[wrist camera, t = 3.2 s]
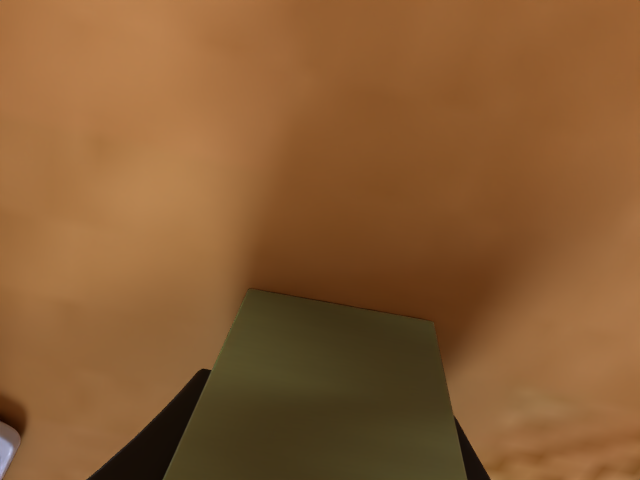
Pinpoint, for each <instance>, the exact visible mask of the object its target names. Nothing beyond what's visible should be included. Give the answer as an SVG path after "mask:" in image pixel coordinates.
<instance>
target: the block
mask: <svg viewBox="0 0 640 480" xmlns="http://www.w3.org/2000/svg"><path fill="white" fill-rule="evenodd" d="M163 480H467V476H466V471H465V467H464V462H463V457H462V453H461V448H460V443H459V439H458V434H457V429H456V425H455V420H454V415H453V411H452V406H451V401H450V397H449V392H448V387H447V383H446V378H445V373H444V369H443V364H442V359H441V355H440V350H439V345H438V341H437V336H436V331H435V327H434V323H433V322H432V321H427V320H422V319H416V318H411V317H405V316H400V315H394V314H389V313H383V312H378V311H372V310H366V309H361V308H355V307H350V306H344V305H339V304H333V303H328V302H322V301H317V300H311V299H306V298H300V297H294V296H289V295H283V294H278V293H272V292H267V291H261V290H256V289H248V291H247V293H246V295H245V297H244V299H243V302H242V304H241V306H240V308H239V311H238V313H237V315H236V317H235V320H234V322H233V324H232V326H231V328H230V331H229V333H228V335H227V337H226V340H225V342H224V344H223V346H222V349H221V351H220V353H219V355H218V357H217V360H216V362H215V364H214V366H213V369H212V371H211V373H210V375H209V378H208V380H207V382H206V384H205V386H204V389H203V391H202V393H201V395H200V398H199V400H198V402H197V404H196V407H195V409H194V411H193V413H192V415H191V418H190V420H189V422H188V424H187V427H186V429H185V431H184V433H183V436H182V438H181V440H180V442H179V444H178V447H177V449H176V451H175V453H174V456H173V458H172V460H171V462H170V465H169V467H168V469H167V471H166V473H165V476H164V478H163Z"/></svg>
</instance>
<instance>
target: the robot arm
mask: <svg viewBox="0 0 640 480" xmlns="http://www.w3.org/2000/svg"><path fill="white" fill-rule="evenodd" d="M211 371H212V370H208V369H201V370H199V371H198V372H197V373H196V374H195V375H194V376H193V378H192V379H191V380H190V381H189V382H188V383H187V384H186V386H185V387H184V388H183V389H182V390H181V391H180V392H179V393H178V394H177V396H176V397H175V398H174V399H173V400H172V401H171V402H170V403H169V404H168V405H167V406H166V407H165V408H164V409H163V410H162V411H161V412H160V413H159V414H158V415H157V416H156V417H155V418H154V419H153V420H152V421H151V422H150V423H149V424H148V425H147V426H146V427H145V428H144V429H143V430H142V431H141V432H140V433H139V434H138V435H137V436H136V437H135V438H134V439H132V440H131V441H130V442H129V443H128V444H127V445H126V446H125V447H124V448H122V449H121V450H120V451H119V452H118V453H117V454H116V455H115V456H113V457H112V458H111V459H110V460H109V461H108V462H107V463H105V464H104V465H103V466H102V467H101V468H100V469H99V470H97V471H96V472H95V473H94V474H93V475H91V476H90V477H89V478H88V479H87V480H163V478H164V476H165V473H166V471H167V469H168V467H169V465H170V462H171V460H172V458H173V456H174V453H175V451H176V449H177V447H178V444H179V442H180V440H181V438H182V436H183V433H184V431H185V429H186V427H187V424H188V422H189V420H190V418H191V415H192V413H193V411H194V409H195V407H196V404H197V402H198V400H199V398H200V395H201V393H202V391H203V389H204V386H205V384H206V382H207V380H208V378H209V375H210V373H211ZM454 420H455V425H456V429H457V434H458V439H459V443H460V448H461V453H462V457H463V462H464V467H465V471H466V476H467V480H491V479H490V477H489V476H488V474H487V472H486V471H485V469H484V467H483V465H482V464H481V462H480V460H479V458H478V457H477V455H476V453H475V451H474V450H473V448H472V446H471V444H470V443H469V441H468V439H467V437H466V435H465V434H464V432H463V430H462V428H461V426H460V424H459V423H458V421H457V419H456V418H455V416H454ZM20 442H21V438H20V435H19V433H18V432H17V431H16V430H15V429H14V428H12V427H11V426H9V425H7V424H5V423H3V422H1V421H0V480H2V479H3V477H4V475H5V473H6V471H7V469H8V467H9V465H10V463H11V461H12V459H13V457H14V455H15V453H16V451H17V449H18V447H19V445H20Z"/></svg>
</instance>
